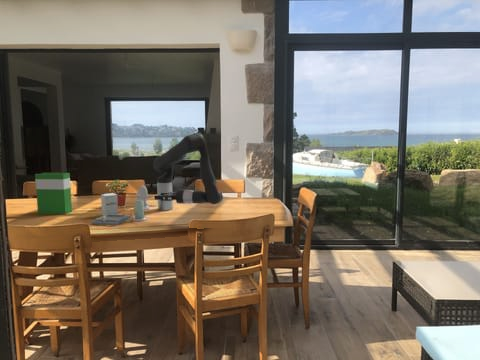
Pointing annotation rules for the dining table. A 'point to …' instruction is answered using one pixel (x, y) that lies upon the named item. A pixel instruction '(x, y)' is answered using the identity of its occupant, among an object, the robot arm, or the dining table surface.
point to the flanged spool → (139, 211)
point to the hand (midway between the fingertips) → (157, 196)
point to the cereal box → (53, 193)
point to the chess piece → (143, 196)
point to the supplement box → (109, 204)
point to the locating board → (111, 219)
